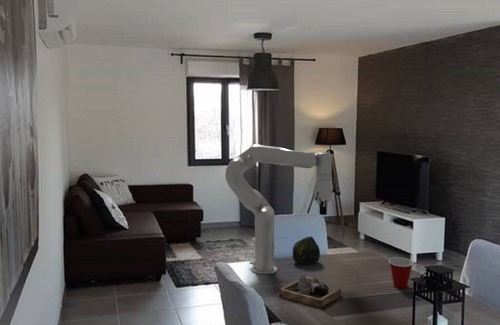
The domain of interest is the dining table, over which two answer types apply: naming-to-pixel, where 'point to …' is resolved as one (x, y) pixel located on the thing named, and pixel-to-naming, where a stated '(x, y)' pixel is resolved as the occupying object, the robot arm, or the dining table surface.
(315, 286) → the caster wheel
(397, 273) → the plastic cup
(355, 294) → the dining table surface
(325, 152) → the robot arm
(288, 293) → the walnut bay
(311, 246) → the squash
